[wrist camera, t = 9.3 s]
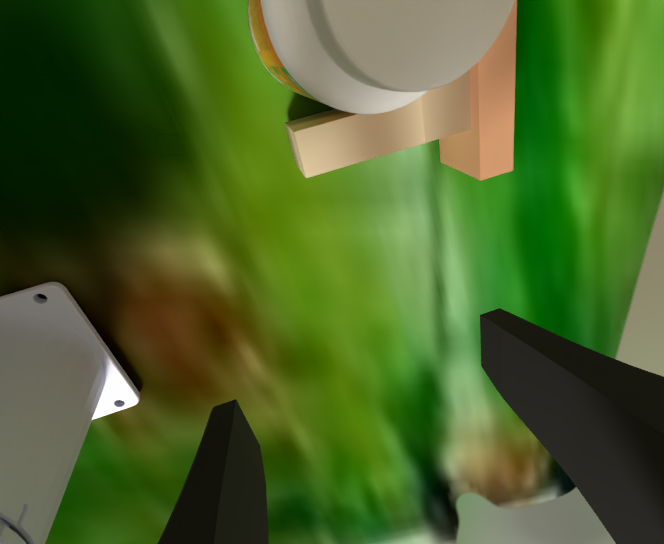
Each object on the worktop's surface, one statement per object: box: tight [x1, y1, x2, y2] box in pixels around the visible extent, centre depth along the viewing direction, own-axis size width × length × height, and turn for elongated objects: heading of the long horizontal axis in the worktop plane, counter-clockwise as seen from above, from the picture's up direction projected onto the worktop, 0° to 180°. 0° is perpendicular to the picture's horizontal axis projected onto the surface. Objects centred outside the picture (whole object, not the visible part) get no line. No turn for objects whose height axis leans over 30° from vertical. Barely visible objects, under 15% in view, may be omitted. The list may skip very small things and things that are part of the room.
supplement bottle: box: [248, 0, 515, 114], centre depth 11 cm, size 5×5×10 cm
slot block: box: [285, 70, 471, 178], centre depth 14 cm, size 7×10×3 cm
